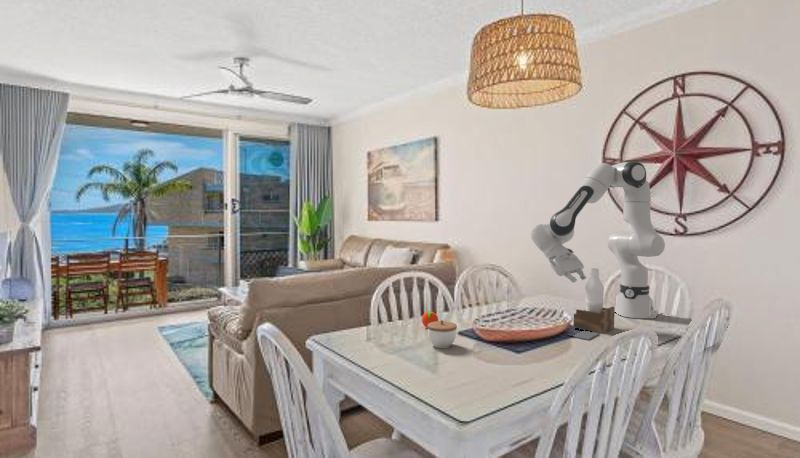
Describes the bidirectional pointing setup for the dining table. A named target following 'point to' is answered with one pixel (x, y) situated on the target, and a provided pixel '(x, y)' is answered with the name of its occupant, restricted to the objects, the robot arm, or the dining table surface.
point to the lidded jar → (442, 333)
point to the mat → (586, 335)
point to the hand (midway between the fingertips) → (580, 280)
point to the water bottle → (594, 292)
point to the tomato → (429, 318)
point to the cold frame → (595, 320)
